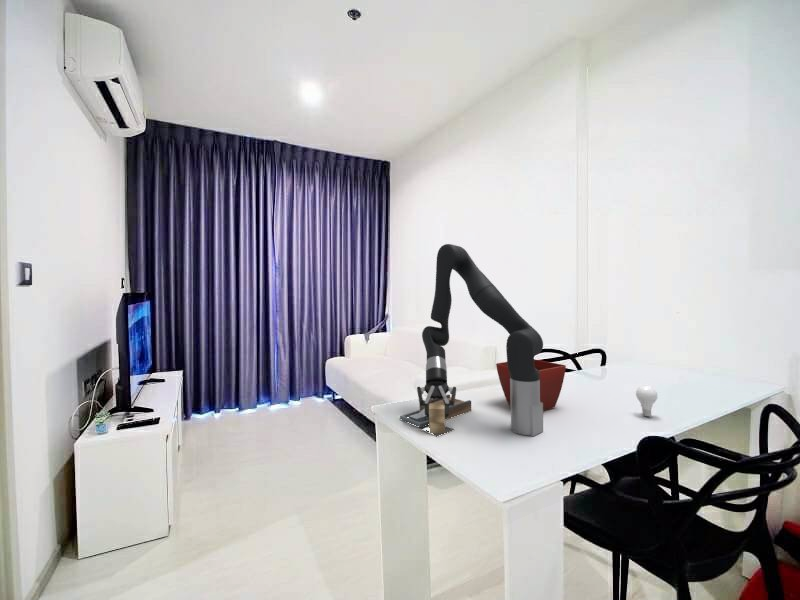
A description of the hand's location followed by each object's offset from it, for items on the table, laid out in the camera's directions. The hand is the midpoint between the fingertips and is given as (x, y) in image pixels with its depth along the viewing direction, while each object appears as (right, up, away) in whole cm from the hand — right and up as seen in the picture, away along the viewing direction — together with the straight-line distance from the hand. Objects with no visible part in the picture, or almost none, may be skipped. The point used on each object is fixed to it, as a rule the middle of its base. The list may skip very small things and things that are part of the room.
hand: (437, 415), depth 120 cm
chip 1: (-6, -3, +10) cm, 13 cm away
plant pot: (+39, -4, +23) cm, 46 cm away
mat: (0, -5, +2) cm, 6 cm away
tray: (-5, -5, +11) cm, 13 cm away
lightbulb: (+76, -3, +9) cm, 76 cm away
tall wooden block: (0, -5, +1) cm, 5 cm away
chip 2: (-3, -4, +13) cm, 14 cm away
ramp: (+5, -5, +20) cm, 21 cm away
